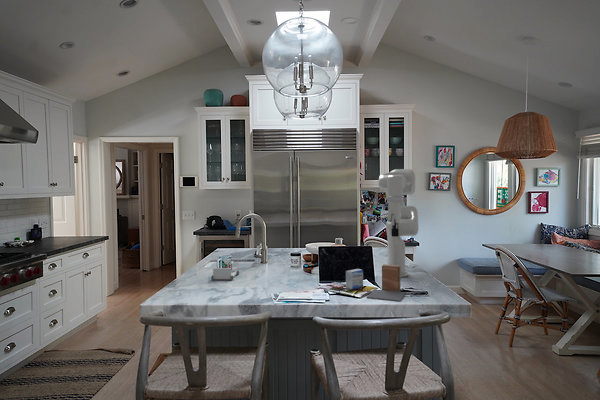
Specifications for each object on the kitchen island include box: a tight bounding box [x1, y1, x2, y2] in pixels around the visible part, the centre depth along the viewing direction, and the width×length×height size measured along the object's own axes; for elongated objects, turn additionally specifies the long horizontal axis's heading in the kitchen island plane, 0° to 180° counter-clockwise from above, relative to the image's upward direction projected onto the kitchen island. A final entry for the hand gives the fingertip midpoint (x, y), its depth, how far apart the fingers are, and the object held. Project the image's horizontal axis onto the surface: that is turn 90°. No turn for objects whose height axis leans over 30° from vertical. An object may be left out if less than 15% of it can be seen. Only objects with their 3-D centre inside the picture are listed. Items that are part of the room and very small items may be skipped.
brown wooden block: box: [381, 263, 401, 292], centre depth 191 cm, size 4×8×12 cm, turn 65°
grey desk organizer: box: [210, 257, 240, 281], centre depth 225 cm, size 18×10×12 cm
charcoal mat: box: [366, 288, 407, 303], centre depth 183 cm, size 14×15×1 cm
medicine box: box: [345, 268, 364, 290], centre depth 198 cm, size 8×4×9 cm, turn 126°
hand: (395, 236), depth 200 cm, fingers closed
